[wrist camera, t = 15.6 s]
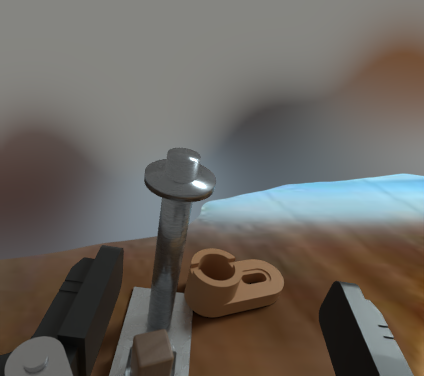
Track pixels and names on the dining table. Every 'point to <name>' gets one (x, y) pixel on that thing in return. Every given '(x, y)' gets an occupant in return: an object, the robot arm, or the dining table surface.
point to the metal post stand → (167, 260)
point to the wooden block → (151, 354)
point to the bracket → (229, 284)
